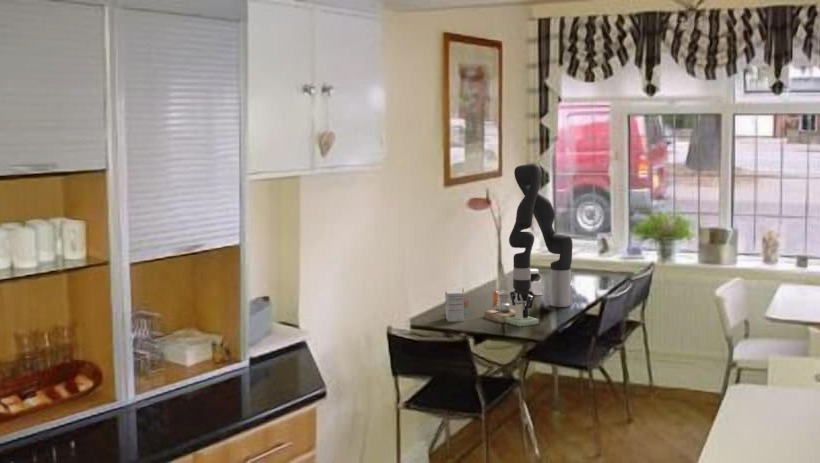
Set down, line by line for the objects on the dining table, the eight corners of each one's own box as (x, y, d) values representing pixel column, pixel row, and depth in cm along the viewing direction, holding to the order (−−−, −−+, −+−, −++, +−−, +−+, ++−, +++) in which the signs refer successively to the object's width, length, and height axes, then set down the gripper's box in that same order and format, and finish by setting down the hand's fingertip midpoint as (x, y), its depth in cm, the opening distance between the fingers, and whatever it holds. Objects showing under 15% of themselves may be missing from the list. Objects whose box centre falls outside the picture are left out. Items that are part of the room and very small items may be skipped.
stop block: (522, 317, 426) (522, 303, 425) (528, 318, 422) (528, 304, 421) (515, 318, 423) (515, 304, 423) (521, 319, 420) (521, 306, 419)
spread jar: (529, 290, 494) (529, 267, 492) (549, 292, 488) (549, 269, 486) (517, 294, 484) (517, 271, 483) (538, 296, 478) (538, 273, 476)
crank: (512, 311, 431) (512, 295, 430) (502, 312, 430) (502, 296, 429) (499, 305, 443) (499, 290, 442) (489, 306, 441) (489, 291, 440)
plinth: (507, 313, 442) (507, 306, 442) (525, 318, 431) (525, 311, 431) (484, 317, 435) (484, 310, 435) (502, 323, 424) (502, 315, 424)
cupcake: (471, 311, 448) (470, 286, 446) (466, 315, 440) (465, 289, 438) (453, 310, 450) (452, 285, 449) (447, 314, 443) (447, 288, 441)
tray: (523, 319, 430) (523, 315, 430) (538, 323, 422) (538, 319, 421) (505, 322, 425) (505, 318, 424) (520, 327, 416) (520, 322, 416)
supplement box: (445, 318, 436) (444, 290, 434) (461, 317, 437) (461, 289, 435) (447, 321, 429) (446, 293, 427) (464, 321, 429) (463, 292, 428)
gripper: (539, 279, 417) (539, 318, 419) (518, 274, 428) (518, 312, 431) (525, 281, 413) (525, 321, 415) (504, 276, 424) (504, 315, 427)
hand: (522, 316), depth 423 cm, fingers closed on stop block, 4 cm apart
